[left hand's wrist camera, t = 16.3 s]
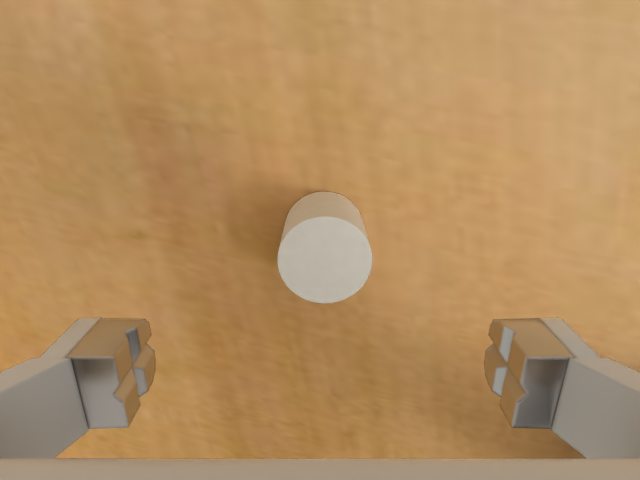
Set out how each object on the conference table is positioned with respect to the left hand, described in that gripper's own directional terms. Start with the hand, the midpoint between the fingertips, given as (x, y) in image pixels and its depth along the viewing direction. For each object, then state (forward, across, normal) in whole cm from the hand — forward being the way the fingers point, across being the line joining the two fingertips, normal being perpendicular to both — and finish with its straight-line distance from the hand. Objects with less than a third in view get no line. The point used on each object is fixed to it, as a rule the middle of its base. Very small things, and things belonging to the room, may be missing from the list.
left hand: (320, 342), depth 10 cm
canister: (+14, 0, -2) cm, 14 cm away
